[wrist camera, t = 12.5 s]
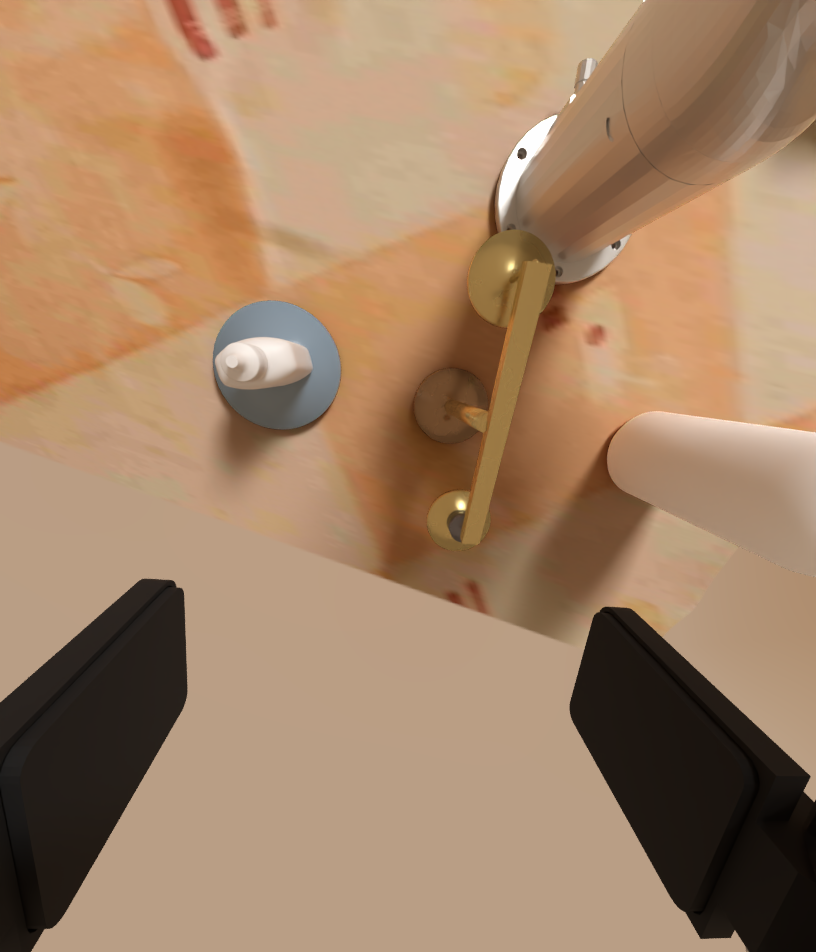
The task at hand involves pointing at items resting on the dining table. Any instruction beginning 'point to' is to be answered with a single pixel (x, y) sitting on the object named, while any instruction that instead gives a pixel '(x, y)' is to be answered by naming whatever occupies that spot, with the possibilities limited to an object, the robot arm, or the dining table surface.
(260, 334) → the grey flat round piece
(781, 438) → the alcohol
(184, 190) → the dining table surface
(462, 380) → the balance
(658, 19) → the robot arm
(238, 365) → the eye dropper bottle
